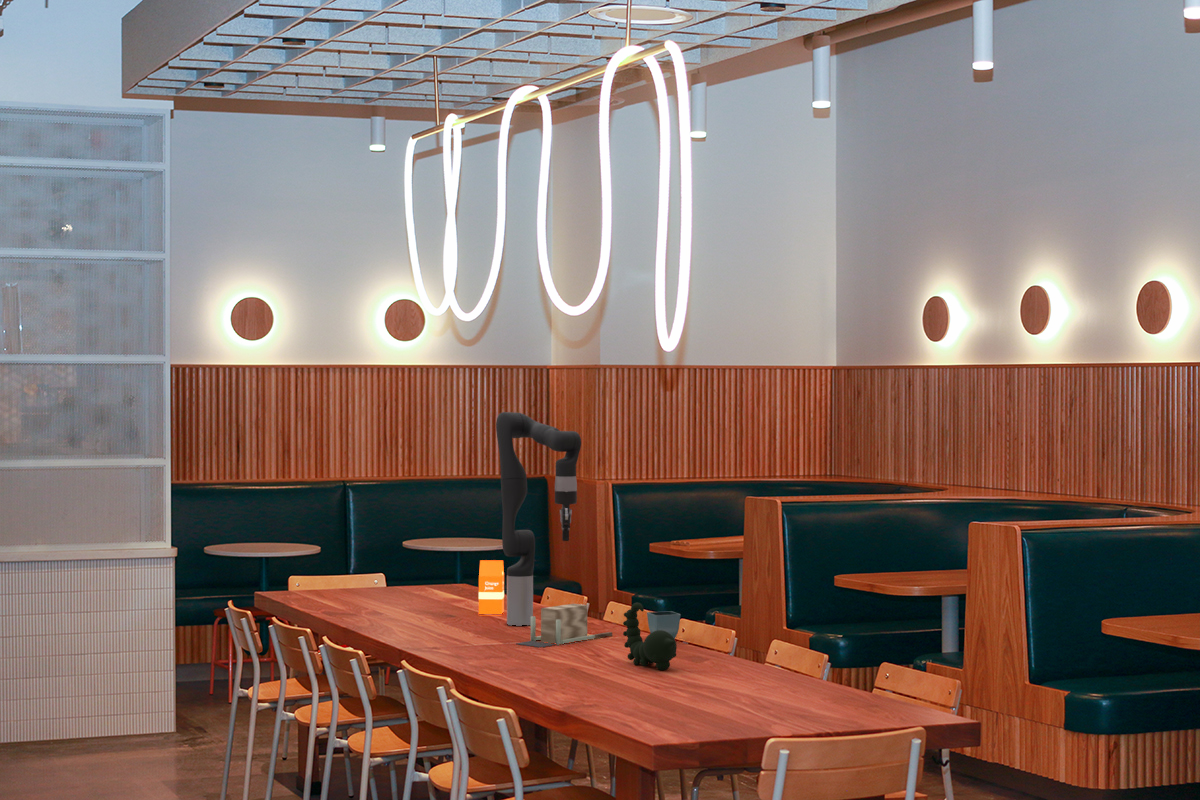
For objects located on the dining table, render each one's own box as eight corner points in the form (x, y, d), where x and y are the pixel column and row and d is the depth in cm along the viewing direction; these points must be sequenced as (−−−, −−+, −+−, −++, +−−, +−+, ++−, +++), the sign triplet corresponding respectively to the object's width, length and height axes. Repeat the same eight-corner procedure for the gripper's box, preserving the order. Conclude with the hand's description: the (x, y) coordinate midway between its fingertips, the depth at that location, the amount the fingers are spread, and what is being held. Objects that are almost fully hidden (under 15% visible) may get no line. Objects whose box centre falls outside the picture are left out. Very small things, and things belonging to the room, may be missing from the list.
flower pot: (646, 639, 449) (646, 611, 449) (671, 638, 452) (671, 610, 452) (655, 643, 441) (655, 615, 441) (681, 642, 443) (681, 614, 444)
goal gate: (566, 635, 457) (566, 611, 457) (594, 639, 449) (594, 614, 449) (529, 641, 443) (529, 616, 444) (558, 645, 435) (558, 620, 435)
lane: (583, 632, 464) (583, 628, 464) (612, 636, 456) (612, 632, 456) (566, 635, 457) (566, 631, 457) (594, 639, 449) (594, 635, 449)
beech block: (573, 636, 455) (573, 603, 455) (587, 638, 451) (587, 605, 451) (540, 642, 442) (541, 608, 443) (554, 644, 438) (554, 609, 439)
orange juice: (502, 615, 506) (502, 561, 507) (478, 615, 507) (478, 561, 507) (504, 612, 514) (504, 559, 515) (480, 612, 514) (480, 559, 515)
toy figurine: (616, 667, 404) (661, 673, 382) (614, 603, 406) (658, 604, 384) (644, 665, 409) (689, 670, 387) (641, 601, 411) (686, 602, 389)
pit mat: (530, 641, 443) (530, 640, 443) (556, 645, 436) (556, 644, 436) (515, 644, 437) (515, 643, 437) (541, 647, 430) (541, 646, 430)
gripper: (553, 489, 471) (553, 539, 471) (555, 490, 458) (555, 542, 457) (575, 489, 472) (575, 539, 471) (578, 490, 458) (577, 542, 458)
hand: (565, 540), depth 464 cm, fingers closed
